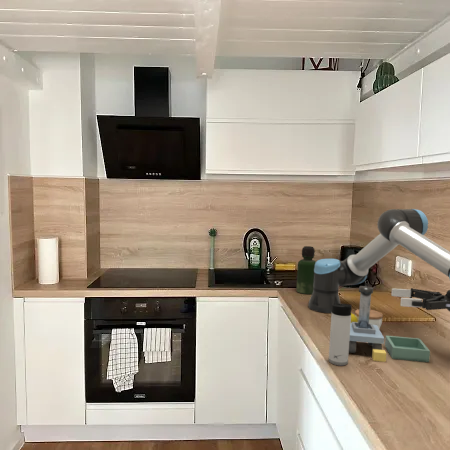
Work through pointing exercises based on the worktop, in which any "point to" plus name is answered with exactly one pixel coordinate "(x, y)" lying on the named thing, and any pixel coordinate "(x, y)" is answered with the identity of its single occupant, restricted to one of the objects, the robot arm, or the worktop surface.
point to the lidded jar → (372, 317)
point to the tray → (407, 348)
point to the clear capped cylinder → (364, 306)
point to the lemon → (353, 318)
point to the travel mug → (340, 334)
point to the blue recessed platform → (365, 336)
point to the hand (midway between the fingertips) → (396, 296)
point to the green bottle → (306, 271)
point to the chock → (379, 355)
